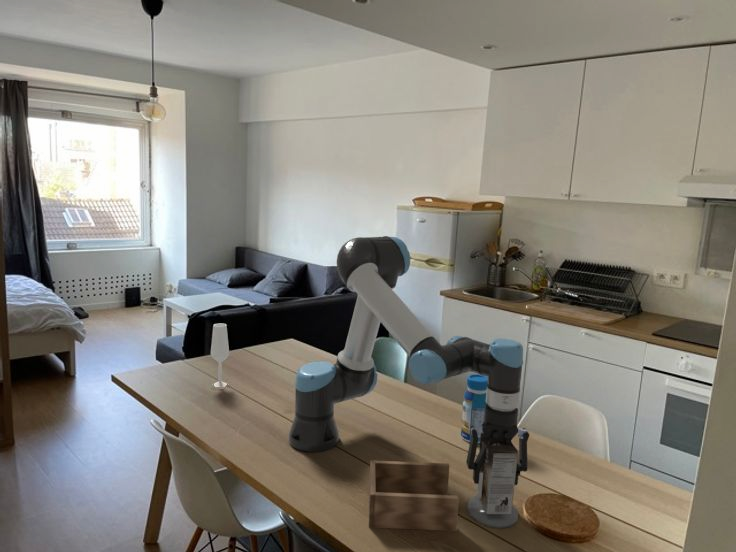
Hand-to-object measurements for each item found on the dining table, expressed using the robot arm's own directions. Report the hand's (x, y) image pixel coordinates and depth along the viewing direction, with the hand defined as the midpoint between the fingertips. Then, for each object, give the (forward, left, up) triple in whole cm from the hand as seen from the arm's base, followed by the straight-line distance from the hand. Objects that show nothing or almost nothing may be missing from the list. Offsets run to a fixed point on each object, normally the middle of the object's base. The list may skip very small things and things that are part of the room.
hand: (493, 495), depth 126 cm
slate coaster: (0, 0, -5) cm, 5 cm away
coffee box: (0, 0, -2) cm, 2 cm away
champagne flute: (-87, +73, -5) cm, 114 cm away
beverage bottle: (+3, +39, -5) cm, 39 cm away
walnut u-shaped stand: (-20, 0, -5) cm, 20 cm away
